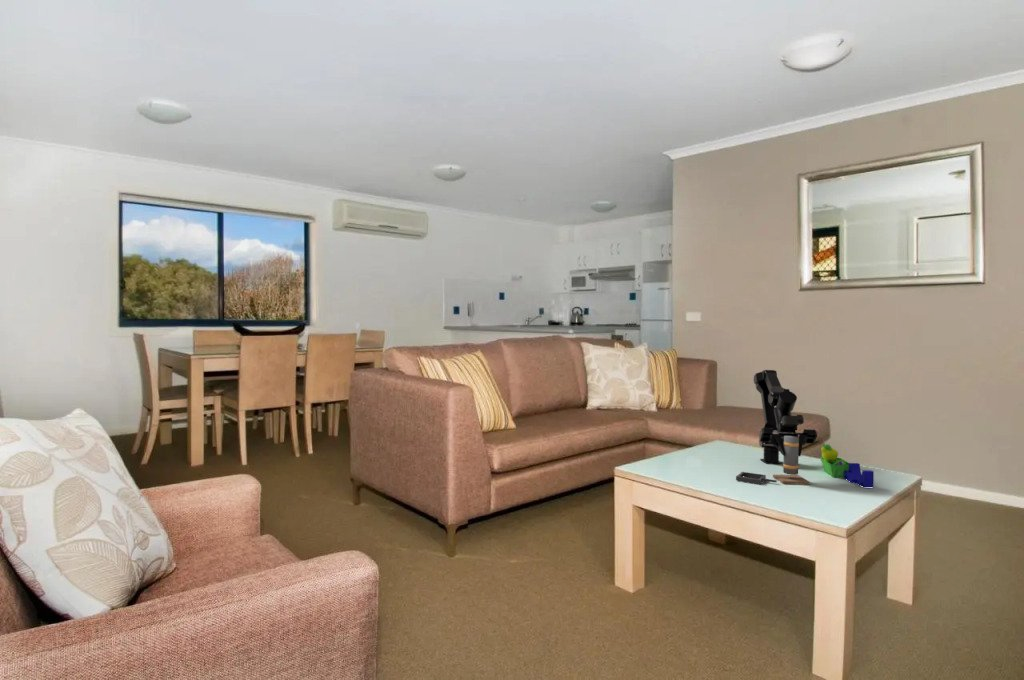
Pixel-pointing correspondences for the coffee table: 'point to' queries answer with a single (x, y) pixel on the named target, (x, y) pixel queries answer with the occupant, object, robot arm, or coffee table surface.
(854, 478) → the cable clip
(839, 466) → the fruit basket
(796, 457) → the orange-banded grey cylinder
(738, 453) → the coffee table surface
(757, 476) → the collar
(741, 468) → the coffee table surface
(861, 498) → the coffee table surface
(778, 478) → the walnut pad
